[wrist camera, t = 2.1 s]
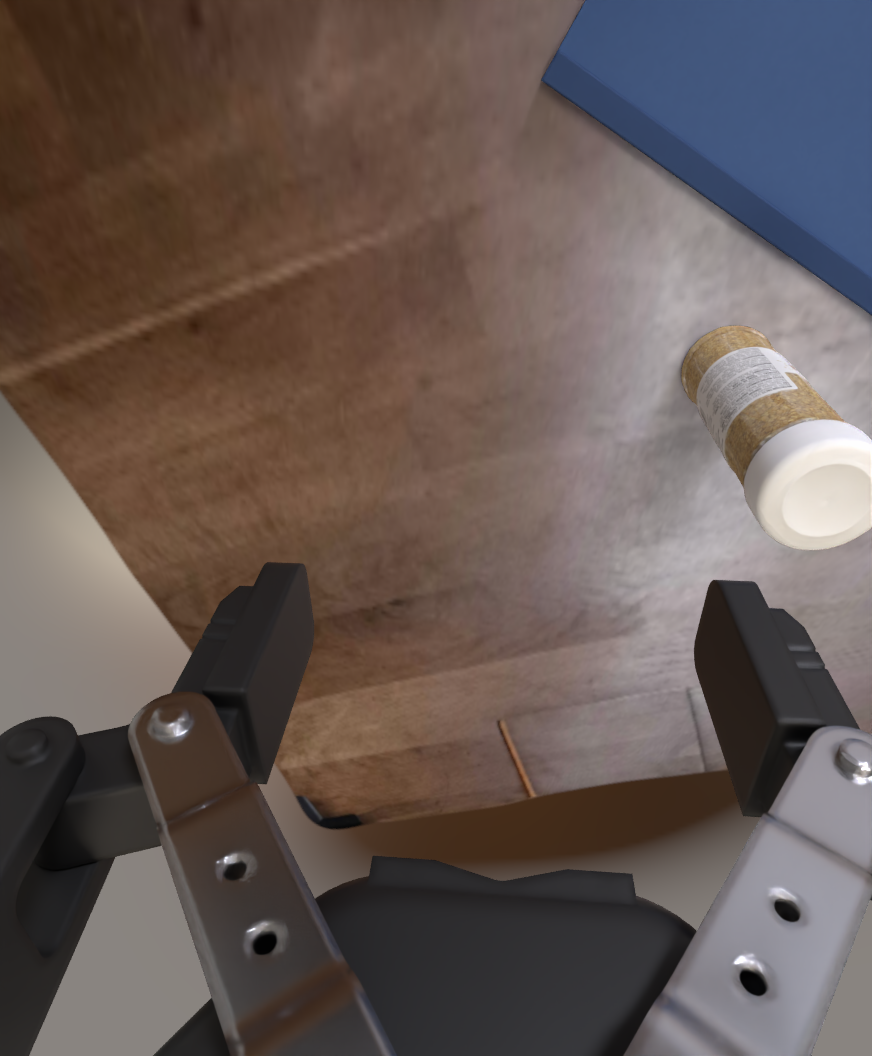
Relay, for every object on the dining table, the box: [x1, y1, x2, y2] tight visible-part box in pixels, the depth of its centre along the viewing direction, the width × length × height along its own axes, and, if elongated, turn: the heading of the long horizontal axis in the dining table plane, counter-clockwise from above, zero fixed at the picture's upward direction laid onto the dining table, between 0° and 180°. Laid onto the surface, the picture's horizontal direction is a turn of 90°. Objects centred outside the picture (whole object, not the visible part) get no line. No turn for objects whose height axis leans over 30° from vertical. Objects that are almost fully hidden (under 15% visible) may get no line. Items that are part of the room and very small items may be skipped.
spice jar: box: [681, 326, 872, 550], centre depth 30 cm, size 5×5×13 cm
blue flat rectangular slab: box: [542, 0, 872, 315], centre depth 29 cm, size 24×11×1 cm, turn 60°
